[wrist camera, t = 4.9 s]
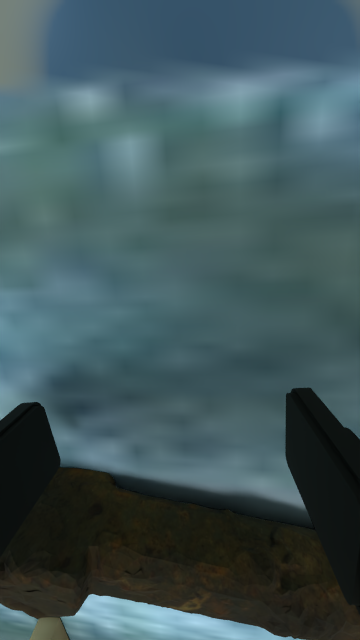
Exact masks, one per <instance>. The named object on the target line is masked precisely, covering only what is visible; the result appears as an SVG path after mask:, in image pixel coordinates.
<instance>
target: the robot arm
mask: <svg viewBox="0 0 360 640" xmlns="http://www.w3.org/2000/svg"><path fill="white" fill-rule="evenodd" d="M285 453H286V460H287V464H288V467H289V469H290V471H291V474H292V476H293V478H294V481H295V483H296V485H297V488H298V490H299V492H300V495H301V497H302V499H303V502H304V504H305V506H306V509H307V511H308V513H309V516H310V518H311V521H312V523H313V525H314V528H315V530H316V532H317V535H318V537H319V539H320V542H321V544H322V546H323V549H324V551H325V553H326V556H327V558H328V560H329V563H330V565H331V568H332V570H333V572H334V575H335V577H336V579H337V582H338V584H339V586H340V589H341V591H342V593H343V595H344V598H345V599H346V601H347V603H348V604H349V605H355V606H356V608H357V610H358V613H359V615H360V440H359V438H358V437H357V436H356V435H355V434H354V433H353V432H352V431H351V430H350V429H348V428H346V427H345V428H344V427H343V426H342V424H341V423H340V422H339V421H338V420H337V419H336V417H335V416H334V415H333V414H332V413H331V412H330V410H329V409H328V408H327V407H326V406H325V404H324V403H323V402H322V401H321V400H320V399H319V397H318V396H317V395H316V394H315V393H314V391H313V390H312V389H311V388H294V389H292V390H291V393H287V394H286V452H285ZM59 466H60V456H59V453H58V450H57V447H56V444H55V441H54V437H53V434H52V431H51V428H50V425H49V422H48V418H47V415H46V412H45V409H44V407H43V406H41V404H40V403H38V402H31V403H22V404H20V405H18V406H17V407H16V408H15V409H14V410H12V411H11V412H10V413H9V414H8V415H6V416H5V417H4V418H3V419H1V420H0V557H1V555H2V554H3V552H4V551H5V549H6V548H7V546H8V545H9V543H10V542H11V540H12V539H13V537H14V536H15V534H16V533H17V531H18V530H19V528H20V526H21V525H22V523H23V522H24V520H25V519H26V517H27V516H28V514H29V513H30V511H31V510H32V508H33V507H34V505H35V504H36V502H37V501H38V499H39V498H40V496H41V495H42V493H43V492H44V490H45V489H46V487H47V486H48V484H49V483H50V481H51V480H52V478H53V477H54V475H55V474H56V472H57V471H58V469H59Z"/></svg>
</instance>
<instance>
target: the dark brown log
mask: <svg viewBox="0 0 360 640" xmlns="http://www.w3.org/2000/svg"><path fill="white" fill-rule="evenodd" d="M90 594H95V595H98V596H111V597H116V598H121V599H127V600H132V601H135V602H143V603H147V604H153V605H156V606H161V607H167V608H172V609H175V610H179V611H183V612H187V613H191V614H192V613H195V614H201V615H205V616H208V617H212V618H217V619H223V620H230V621H235V622H239V623H244V624H249V625H254V626H259V627H261V628H264V629H266V630H267V631H269V632H271V633H272V634H274V635H277V636H281V637H288V636H292V637H293V638H294V639H296V638H299V639H306V640H360V615H359V613H358V610H357V608H356V606H355V605H349V604H348V603H347V601H346V599H345V598H344V595H343V593H342V591H341V589H340V586H339V584H338V582H337V579H336V577H335V575H334V572H333V570H332V568H331V565H330V563H329V560H328V558H327V556H326V553H325V551H324V549H323V546H322V544H321V542H320V539H319V537H318V535H317V532H316V530H314V529H310V528H303V527H299V526H294V525H290V524H284V523H279V522H274V521H268V520H263V519H258V518H254V517H250V516H245V515H240V514H236V513H234V512H231V511H230V510H228V509H226V510H218V509H211V508H207V507H202V506H199V505H196V504H188V503H182V502H177V501H172V500H168V499H163V498H158V497H152V496H147V495H142V494H139V493H136V492H133V491H128V490H124V489H121V488H118V487H116V482H115V480H114V478H113V477H112V476H111V475H110V474H109V473H105V472H100V471H94V470H88V469H79V468H63V467H59V469H58V471H57V472H56V474H55V475H54V477H53V478H52V480H51V481H50V483H49V484H48V486H47V487H46V489H45V490H44V492H43V493H42V495H41V496H40V498H39V499H38V501H37V502H36V504H35V505H34V507H33V508H32V510H31V511H30V513H29V514H28V516H27V517H26V519H25V520H24V522H23V523H22V525H21V526H20V528H19V530H18V531H17V533H16V534H15V536H14V537H13V539H12V540H11V542H10V543H9V545H8V546H7V548H6V549H5V551H4V552H3V554H2V555H1V557H0V603H1V604H2V605H4V606H5V607H7V608H10V609H12V610H20V611H23V612H25V613H26V614H28V615H29V616H32V617H35V618H37V619H39V618H46V617H63V616H74V615H75V614H76V613H77V612H78V610H79V609H80V607H81V606H82V604H83V603H84V601H85V600H86V598H87V597H88V595H90Z"/></svg>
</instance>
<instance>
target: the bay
mask: <svg viewBox="0 0 360 640" xmlns="http://www.w3.org/2000/svg"><path fill="white" fill-rule="evenodd" d="M30 640H69V638H68V636H67V633H66V631H65V629H64V626H63V624H62V622H61V619H60V618H55V617H46V618H39V620H38V622H37V624H36V627H35V629H34V631H33V633H32V636H31V638H30Z"/></svg>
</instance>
